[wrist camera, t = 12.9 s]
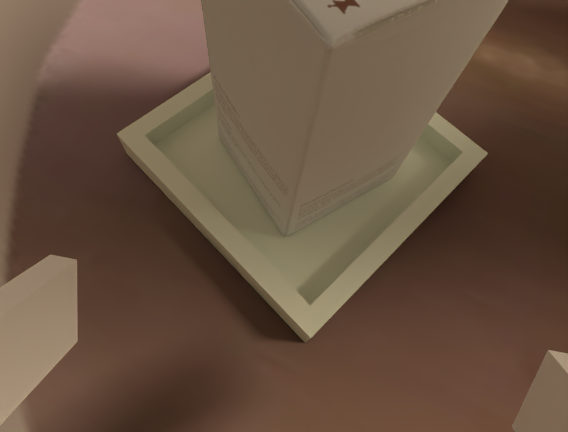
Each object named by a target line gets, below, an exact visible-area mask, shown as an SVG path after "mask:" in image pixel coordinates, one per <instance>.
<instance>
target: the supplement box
mask: <svg viewBox="0 0 568 432" xmlns="http://www.w3.org/2000/svg"><path fill="white" fill-rule="evenodd" d="M508 1H509V0H201V3H202V11H203V18H204V25H205V32H206V40H207V47H208V55H209V63H210V70H211V78H212V86H213V93H214V100H215V110H216V118H217V126H218V135H219V138H220V139H221V141H222V142H223V144H224V145H225V147H226V149H227V150H228V152H229V154H230V155H231V157H232V158H233V160H234V161H235V163H236V164H237V166H238V168H239V169H240V171H241V172H242V174H243V175H244V177H245V178H246V180H247V181H248V183H249V184H250V186H251V187H252V189H253V191H254V192H255V194H256V195H257V197H258V198H259V200H260V201H261V203H262V204H263V206H264V207H265V209H266V210H267V212H268V213H269V215H270V216H271V218H272V220H273V221H274V223H275V224H276V226H277V227H278V229H279V230H280V232H281V234H282V235H283V236H284V237H287V236H289V235H291V234H293V233H294V232H296V231H298V230H300V229H302V228H304V227H305V226H307V225H309V224H311V223H313V222H314V221H316V220H318V219H319V218H321V217H323V216H325V215H327V214H329V213H331V212H332V211H334V210H336V209H337V208H339V207H341V206H343V205H345V204H347V203H348V202H350V201H352V200H354V199H355V198H357V197H359V196H361V195H363V194H365V193H366V192H368V191H370V190H371V189H373V188H375V187H377V186H379V185H380V184H382V183H384V182H386V181H387V180H389V179H391V178H392V177H393V176H394V175H395V174H396V172H397V171H398V169H399V167H400V166H401V164H402V163H403V161H404V160H405V158H406V157H407V155H408V154H409V152H410V151H411V149H412V148H413V146H414V145H415V143H416V141H417V140H418V139H419V137H420V135H421V134H422V132H423V131H424V129H425V128H426V126H427V125H428V123H429V122H430V120H431V118H432V117H433V115H434V114H435V112H436V111H437V109H438V108H439V106H440V105H441V103H442V102H443V100H444V99H445V97H446V96H447V94H448V93H449V91H450V90H451V88H452V87H453V85H454V84H455V82H456V81H457V79H458V78H459V76H460V75H461V73H462V72H463V70H464V69H465V67H466V65H467V64H468V62H469V61H470V59H471V58H472V56H473V55H474V53H475V52H476V50H477V49H478V47H479V45H480V44H481V43H482V41H483V39H484V38H485V36H486V35H487V33H488V32H489V30H490V29H491V27H492V26H493V24H494V23H495V21H496V19H497V18H498V16H499V15H500V13H501V12H502V10H503V9H504V7H505V6H506V4H507V2H508Z"/></svg>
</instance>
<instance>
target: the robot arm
mask: <svg viewBox="0 0 568 432" xmlns="http://www.w3.org/2000/svg"><path fill="white" fill-rule="evenodd" d="M77 341H78V338H77V260H76V259H71V258H66V257H61V256H55V255H49V256H47V257H46V258H44V259H43V260H41V261H40V262H38V263H37V264H35V265H34V266H32V267H30V268H29V269H27V270H26V271H24V272H23V273H21V274H20V275H18V276H17V277H15V278H14V279H12V280H11V281H9V282H7V283H6V284H4V285H3V286H1V287H0V425H1V424H2V423H3V422H4V421H5V420H6V419H7V417H8V416H9V415H10V414H11V413H12V412H13V411H14V410H15V409H16V408H17V407H18V406H19V404H20V403H21V402H22V401H23V400H24V399H25V398H26V397H27V396H28V395H29V394H30V392H31V391H32V390H33V389H34V388H35V387H36V386H37V385H38V384H39V383H40V382H41V381H42V379H43V378H44V377H45V376H46V375H47V374H48V373H49V372H50V371H51V370H52V369H53V368H54V366H55V365H56V364H57V363H58V362H59V361H60V360H61V359H62V358H63V357H64V356H65V354H66V353H67V352H68V351H69V350H70V349H71V348H72V347H73V346H74V345H75V344H76V343H77ZM512 428H513V430H514V432H568V354H567V353H562V352H557V351H551V350H548V351H547V353H546V355H545V357H544V359H543V361H542V363H541V365H540V368H539V370H538V372H537V374H536V376H535V378H534V380H533V383H532V385H531V387H530V389H529V391H528V393H527V395H526V398H525V400H524V402H523V404H522V406H521V408H520V410H519V412H518V415H517V417H516V419H515V421H514V423H513V425H512Z"/></svg>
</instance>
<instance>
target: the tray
mask: <svg viewBox="0 0 568 432" xmlns="http://www.w3.org/2000/svg"><path fill="white" fill-rule="evenodd" d="M117 136H118V138H119V140H120V141H121V143H122V145H123V147H124V149H125V151H126V153H127V155H128V156H129V157H130V158H131V159H132V160H133V161H134V162H135V163H136V164H137V165H138V166H139V167H140V168H141V169H142V170H143V172H144V173H145V174H146V175H147V176H148V177H149V178H150V179H151V180H152V181H153V182H154V183H155V184H156V185H157V186H158V187H159V188H160V190H161V191H162V192H163V193H164V194H165V195H166V196H167V197H168V198H169V199H170V200H171V201H172V202H173V203H174V204H175V205H176V207H177V208H178V209H179V210H180V211H181V212H182V213H183V214H184V215H185V216H186V217H187V218H188V219H189V220H190V221H191V222H192V224H193V225H194V226H195V227H196V228H197V229H198V230H199V231H200V232H201V233H202V234H203V235H204V236H205V237H206V238H207V239H208V240H209V242H210V243H211V244H212V245H213V246H214V247H215V248H216V249H217V250H218V251H219V252H220V253H221V254H222V255H223V256H224V257H225V259H226V260H227V261H228V262H229V263H230V264H231V265H232V266H233V267H234V268H235V269H236V270H237V271H238V272H239V273H240V274H241V276H242V277H243V278H244V279H245V280H246V281H247V282H248V283H249V284H250V285H251V286H252V287H253V288H254V289H255V290H256V291H257V292H258V294H259V295H260V296H261V297H262V298H263V299H264V300H265V301H266V302H267V303H268V304H269V305H270V306H271V307H272V308H273V309H274V311H275V312H276V313H277V314H278V315H279V316H280V317H281V318H282V319H283V320H284V321H285V322H286V323H287V324H288V325H289V326H290V327H291V329H292V330H293V331H294V332H295V333H296V334H297V335H298V336H299V337H300V338H301V339H302V340H303V341H304V342H307V341H308V340H309V339H311V338H312V337H313V335H314V334H315V333H316V332H317V331H318V330H319V329H320V328H321V327H322V326H323V325H324V324H325V323H326V322H327V321H328V320H329V319H330V318H331V317H332V316H333V315H334V314H335V313H336V311H337V310H338V309H339V308H340V307H341V306H342V305H343V304H344V303H345V302H346V301H347V300H348V299H349V298H350V297H351V296H352V295H353V294H354V293H355V292H356V291H357V290H358V289H359V288H360V286H361V285H362V284H363V283H364V282H365V281H366V280H367V279H368V278H369V277H370V276H371V275H372V274H373V273H374V272H375V271H376V270H377V269H378V268H379V267H380V266H381V265H382V264H383V263H384V261H385V260H386V259H387V258H388V257H389V256H390V255H391V254H392V253H393V252H394V251H395V250H396V249H397V248H398V247H399V246H400V245H401V244H402V243H403V242H404V241H405V240H406V239H407V238H408V236H409V235H410V234H411V233H412V232H413V231H414V230H415V229H416V228H417V227H418V226H419V225H420V224H421V223H422V222H423V221H424V220H425V219H426V218H427V217H428V216H429V215H430V214H431V213H432V211H433V210H434V209H435V208H436V207H437V206H438V205H439V204H440V203H441V202H442V201H443V200H444V199H445V198H446V197H447V196H448V195H449V194H450V193H451V192H452V191H453V190H454V189H455V188H456V186H457V185H458V184H459V183H460V182H461V181H462V180H463V179H464V178H465V177H466V176H467V175H468V174H469V173H470V172H471V171H472V170H473V169H474V168H475V167H476V166H477V165H478V164H479V163H480V161H481V160H482V159H483V158H484V157H485V156H486V155H487V154H488V153H487V152H486V151H485V150H483V149H482V148H481V147H479V146H478V145H477V144H476V143H474V142H473V141H472V140H471V139H469V138H468V137H467V136H466V135H464V134H463V133H462V132H460V131H459V130H458V129H457V128H455V127H454V126H453V125H452V124H450V123H449V122H448V121H447V120H445V119H444V118H443V117H442V116H440V115H439V114H438V113H436V112H435V114H434V115H433V117H432V118H431V120H430V122H429V123H428V125H427V126H426V128H425V129H424V131H423V132H422V134H421V135H420V137H419V139H418V140H417V141H416V143H415V145H414V146H413V148H412V149H411V151H410V152H409V154H408V155H407V157H406V158H405V160H404V161H403V163H402V164H401V166H400V167H399V169H398V171H397V172H396V174H395V175H394V176H393V177H392V178H391V179H389V180H387V181H386V182H384V183H382V184H380V185H379V186H377V187H375V188H373V189H371V190H370V191H368V192H366V193H365V194H363V195H361V196H359V197H357V198H355V199H354V200H352V201H350V202H348V203H347V204H345V205H343V206H341V207H339V208H337V209H336V210H334V211H332V212H331V213H329V214H327V215H325V216H323V217H321V218H319V219H318V220H316V221H314V222H313V223H311V224H309V225H307V226H305V227H304V228H302V229H300V230H298V231H296V232H294V233H293V234H291V235H289V236H287V237H284V236H283V235H282V234H281V232H280V230H279V229H278V227H277V226H276V224H275V223H274V221H273V220H272V218H271V216H270V215H269V213H268V212H267V210H266V209H265V207H264V206H263V204H262V203H261V201H260V200H259V198H258V197H257V195H256V194H255V192H254V191H253V189H252V187H251V186H250V184H249V183H248V181H247V180H246V178H245V177H244V175H243V174H242V172H241V171H240V169H239V168H238V166H237V164H236V163H235V161H234V160H233V158H232V157H231V155H230V154H229V152H228V150H227V149H226V147H225V145H224V144H223V142H222V141H221V139H220V138H219V135H218V126H217V118H216V110H215V100H214V93H213V86H212V78H211V72H210V73H208V74H207V75H205V76H204V77H202V78H201V79H199V80H198V81H196V82H195V83H193V84H191V85H190V86H188V87H187V88H185V89H184V90H182V91H181V92H179V93H178V94H176V95H175V96H173V97H172V98H170V99H169V100H167V101H166V102H164V103H162V104H161V105H159V106H158V107H156V108H155V109H153V110H152V111H150V112H149V113H147V114H146V115H144V116H143V117H141V118H140V119H138V120H136V121H135V122H133V123H132V124H130V125H129V126H127V127H126V128H124V129H123V130H121V131H120V132H118V133H117Z"/></svg>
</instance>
